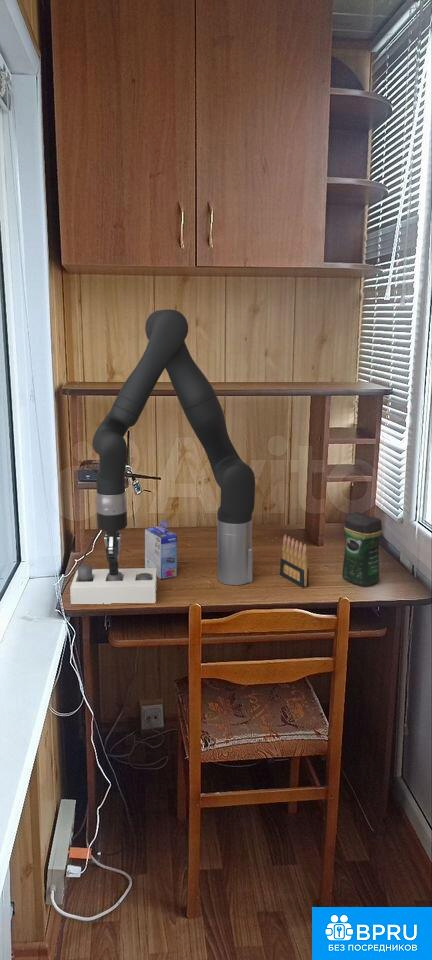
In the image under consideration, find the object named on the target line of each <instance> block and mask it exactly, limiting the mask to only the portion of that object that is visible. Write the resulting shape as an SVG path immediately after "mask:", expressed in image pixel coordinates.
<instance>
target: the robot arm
mask: <svg viewBox="0 0 432 960" xmlns="http://www.w3.org/2000/svg"><path fill="white" fill-rule="evenodd" d="M144 330H145V335H146V337H147V340H148V342H147V344H146V347H145V350H144V352H143V354H142V356H141V358H140V360H139V361H138V363H137V364H136V366H135V368H134V369H133V370H132V372H131V373H130V375H128V377H127V379H126V380H125V382H124V383H123V385H122V386H121V388H120V390H119V392H118V394H117V395H116V397H115V400H114V402H113V404H112V406H111V409H110V411H109V412H108V413H107V414H106V416H105V417H104V419H103V420H102V421H101V423H100V424H99V425H98V427H97V429H96V431H95V433H94V435H93V438H92V448H93V450H94V452H95V453H96V454H98V456H99V457H98V458H99V466H98V467H99V469H98V470H97V472H96V476H95V477H96V478H95V479H96V480H95V483H96V485H95V486H96V500H95V501H96V502H95V508H96V527H97V529H99V530H100V531H104V536H103V541H104V545H105V549H104V550H105V555H106V561H107V562H108V569H109V574H110V575H118V569H119V561H120V560H119V559H120V553H121V552H120V551H121V539H122V532H120V531H122V530H124V529H126V528H127V526H128V507H127V505H128V503H127V496H126V495H127V493H126V477H125V472H126V467H127V460H128V459H127V458H128V447H127V446H128V445H127V442H126V439H125V438H124V437H125V435H126V433H127V432H128V430H129V429H130V428H132V427H134V426H135V425H136V424H137V422H138V421H139V418H140V417H141V414H142V412H143V411H144V408H145V407H146V405H147V402H149V401H148V400H149V399H150V396H151V394H152V393H153V391H154V388H155V387H156V384H157V383H158V381H159V379H160V377H161V376H162V373H163V372H164V371H165V370H166V373H167V375H168V378H169V380H170V382H171V385H172V388H173V390H174V392H175V395H176V397H177V399H178V401H179V405H180V406H181V409H182V411H183V413H184V415H185V417H186V419H187V421H188V423H189V424H190V426H191V429H192V431H193V432H194V434H195V436H196V437H197V439H198V441H199V443H200V444H201V447H202V448H203V450H204V451H205V455H206V456H207V459H208V462H209V464H210V468H211V472H212V474H213V478H214V481H215V482H216V483H217V486H218V487H219V488H220V505H219V507H218V508H217V516H216V517H217V522H216V525H217V535H216V537H217V539H216V540H217V580H218V582H220V583H221V584H224V585H229V586H242V585H245V584H249V583H253V570H254V569H253V568H254V567H253V560H254V559H253V557H254V556H253V555H254V552H253V551H254V550H253V539H252V538H253V536H252V534H253V533H252V532H253V530H252V529H253V513H254V509H255V503H256V502H255V500H256V499H255V498H256V478H255V472H254V471H253V469H252V468H251V467H250V465H249V464H247V463H246V462H245V461H244V460H243V459H242V458H241V457H240V455H239V454H238V452H237V449H235V447H234V445H233V444H234V443H232V441H231V438H230V436H229V432H228V429H227V423H226V418H225V414H224V411H223V407H222V405H221V403H220V401H219V400H220V399H218V396H217V394H216V391H215V390H214V388H213V386H212V385H211V384H212V383H210V381H209V380H208V378H207V376H205V374H204V373H203V372H202V370H201V369H200V367H199V366H198V365H197V364H196V362H195V360H194V359H193V358H192V355H191V354H190V352H189V349H188V346H187V344H186V339H187V337H188V334H189V323H188V320H187V318H186V317H185V315H184V314H183V313H182V312H180V311H178V310H175V309H170V308H169V309H159V310H155V311H153V312H152V313H151V314H149V316H148V317H147V319H146V321H145V327H144Z"/></svg>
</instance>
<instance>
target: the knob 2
mask: <svg viewBox="0 0 432 960" xmlns="http://www.w3.org/2000/svg"><path fill="white" fill-rule="evenodd" d="M137 580H151V574H149V573H141V574H138V575H137Z"/></svg>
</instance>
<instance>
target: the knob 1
mask: <svg viewBox="0 0 432 960" xmlns="http://www.w3.org/2000/svg"><path fill="white" fill-rule="evenodd" d="M92 569H93V566H92V565H90V564H82V565H79V566H77V570H78V582H93V578H92Z"/></svg>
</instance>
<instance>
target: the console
mask: <svg viewBox="0 0 432 960" xmlns="http://www.w3.org/2000/svg"><path fill="white" fill-rule="evenodd" d="M118 572H121V573H122V581H108V573H109V568H102V569H101V568H98V569H96V568H95V569H93V568H92V578H93V582H78V569H76V570H75V574H74V575H73V576H74V577H73V579H72V582H71V583H70V587H69V590H70V591H69V592H70V593H69V594H70V605H71V604H103V603H104V604H111V603H155V602H156V603H157V593H156V591H157V589H158V577H157V568H145V567H139V568H138V567H137V568H133V567H132V568H118ZM141 573H149V574H151V580H137V575H138V574H141Z"/></svg>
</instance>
